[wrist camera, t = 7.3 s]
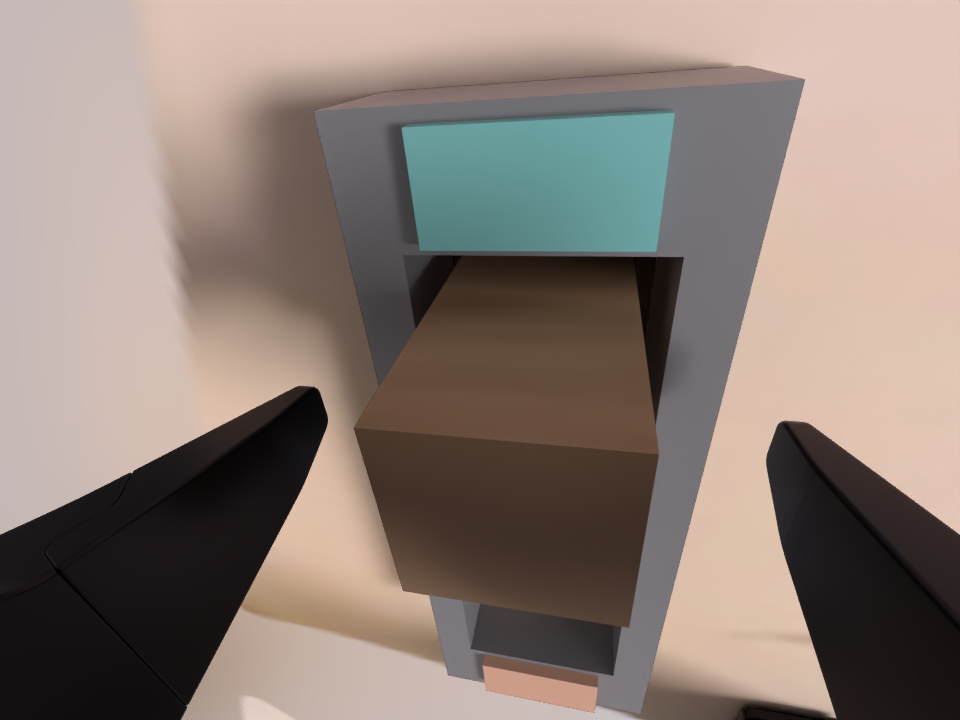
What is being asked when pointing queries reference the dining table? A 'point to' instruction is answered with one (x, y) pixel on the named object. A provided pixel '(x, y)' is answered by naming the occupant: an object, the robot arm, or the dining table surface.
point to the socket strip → (573, 232)
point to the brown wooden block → (520, 439)
